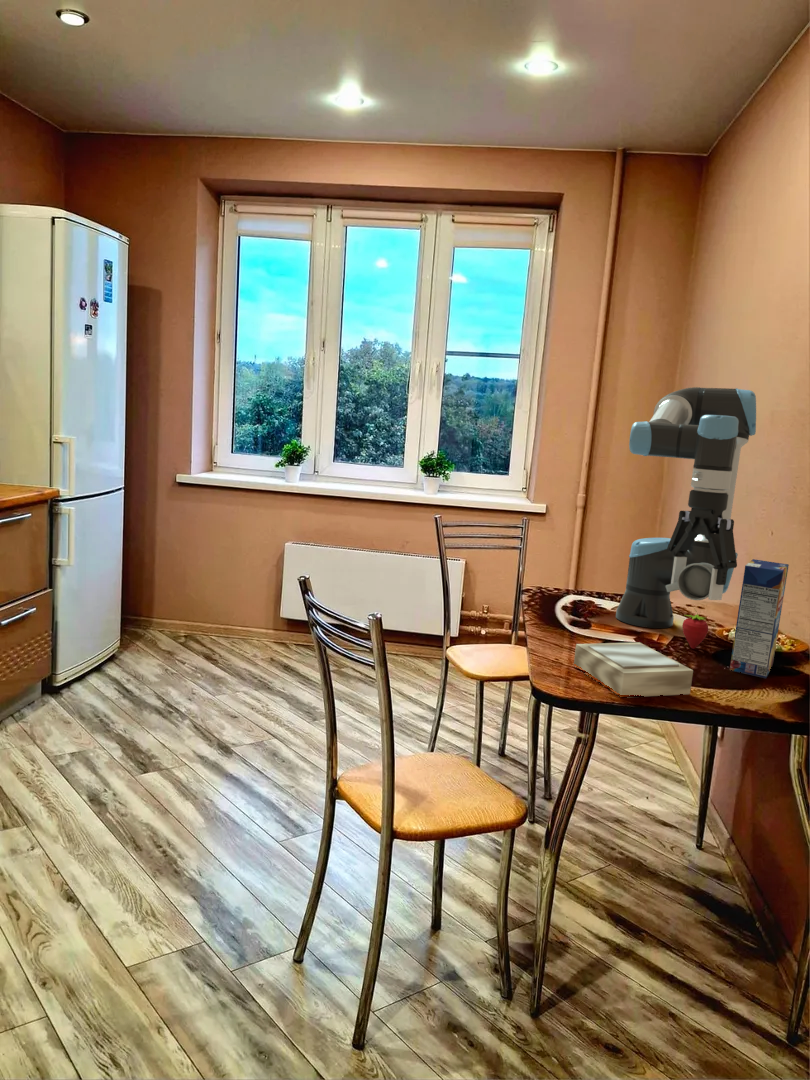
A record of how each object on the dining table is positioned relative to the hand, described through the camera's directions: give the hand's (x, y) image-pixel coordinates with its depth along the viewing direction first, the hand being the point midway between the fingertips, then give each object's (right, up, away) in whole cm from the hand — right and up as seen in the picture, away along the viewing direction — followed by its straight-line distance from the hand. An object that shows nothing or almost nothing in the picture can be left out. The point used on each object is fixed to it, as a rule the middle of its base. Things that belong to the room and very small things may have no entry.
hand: (695, 592), depth 153 cm
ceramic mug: (-1, -1, 0) cm, 1 cm away
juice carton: (+17, -18, +11) cm, 27 cm away
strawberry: (+8, -16, +23) cm, 29 cm away
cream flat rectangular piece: (-15, -18, -3) cm, 23 cm away
